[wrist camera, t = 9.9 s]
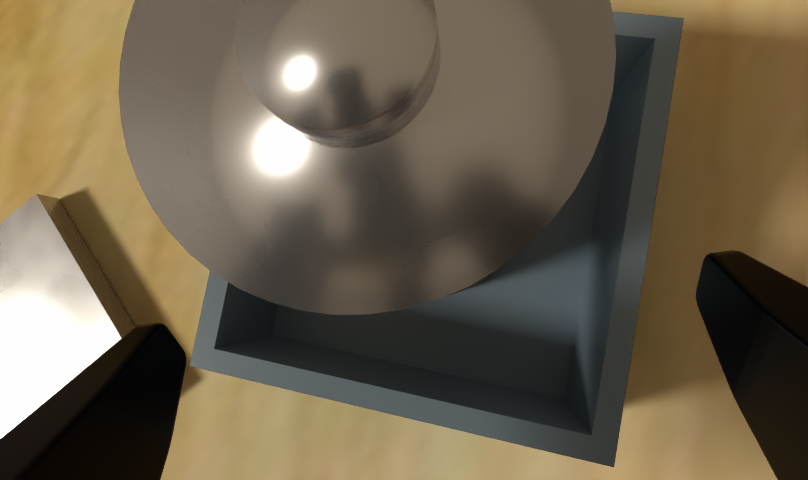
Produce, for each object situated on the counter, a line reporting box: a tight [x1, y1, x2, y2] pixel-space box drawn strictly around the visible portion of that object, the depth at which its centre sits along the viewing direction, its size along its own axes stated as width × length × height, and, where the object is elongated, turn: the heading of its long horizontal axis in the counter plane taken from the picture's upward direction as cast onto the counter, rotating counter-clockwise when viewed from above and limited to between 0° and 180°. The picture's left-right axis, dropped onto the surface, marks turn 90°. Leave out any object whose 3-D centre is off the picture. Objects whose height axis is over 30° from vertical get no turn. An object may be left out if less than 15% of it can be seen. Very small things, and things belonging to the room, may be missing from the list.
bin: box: [190, 12, 684, 467], centre depth 15 cm, size 11×11×4 cm
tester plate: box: [0, 194, 135, 438], centre depth 19 cm, size 9×9×1 cm
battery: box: [119, 0, 616, 315], centre depth 10 cm, size 5×5×13 cm
